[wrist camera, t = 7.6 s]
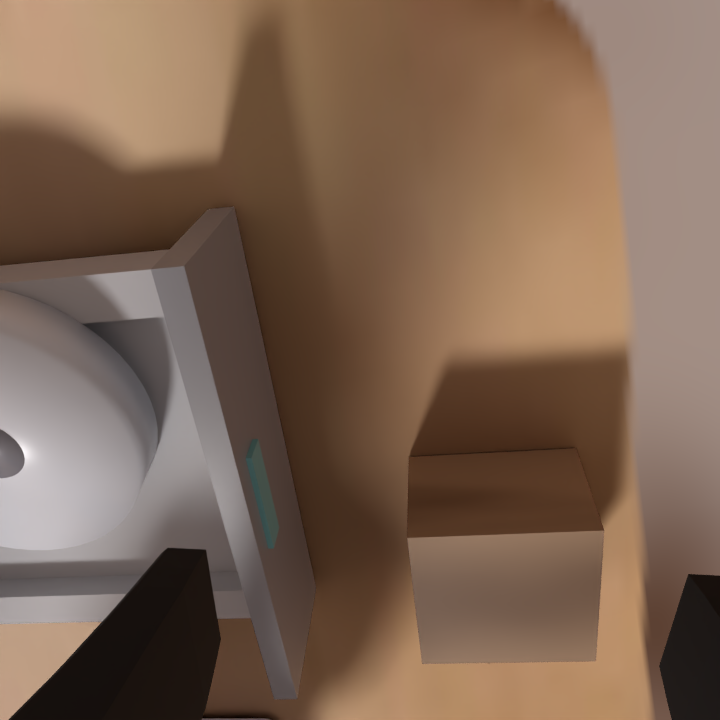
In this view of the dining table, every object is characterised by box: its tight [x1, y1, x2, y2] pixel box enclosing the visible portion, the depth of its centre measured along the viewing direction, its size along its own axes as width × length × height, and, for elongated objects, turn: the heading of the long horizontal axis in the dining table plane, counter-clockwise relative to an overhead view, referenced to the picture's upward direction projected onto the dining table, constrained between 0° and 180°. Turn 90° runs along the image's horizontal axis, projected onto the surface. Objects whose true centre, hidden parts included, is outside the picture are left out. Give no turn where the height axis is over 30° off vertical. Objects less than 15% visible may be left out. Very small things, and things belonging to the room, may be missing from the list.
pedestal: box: [407, 448, 604, 664], centre depth 20 cm, size 5×5×4 cm
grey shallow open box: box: [0, 207, 316, 699], centre depth 19 cm, size 14×13×4 cm
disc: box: [0, 290, 158, 550], centre depth 18 cm, size 8×8×2 cm
